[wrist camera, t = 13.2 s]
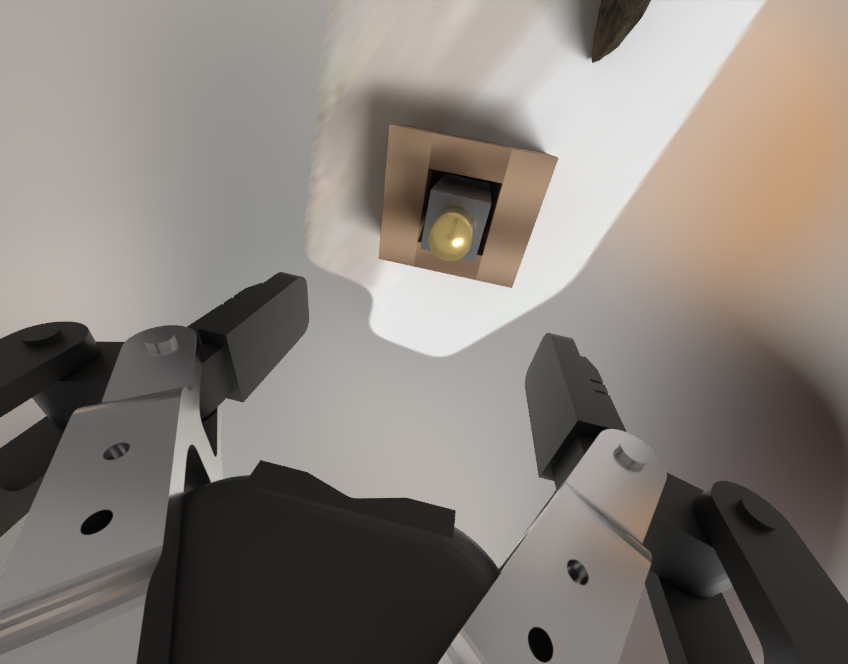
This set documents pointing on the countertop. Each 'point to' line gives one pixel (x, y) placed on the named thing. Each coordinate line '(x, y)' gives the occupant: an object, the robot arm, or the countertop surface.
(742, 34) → the countertop surface
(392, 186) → the housing
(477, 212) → the bit
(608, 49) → the dark brown rod
